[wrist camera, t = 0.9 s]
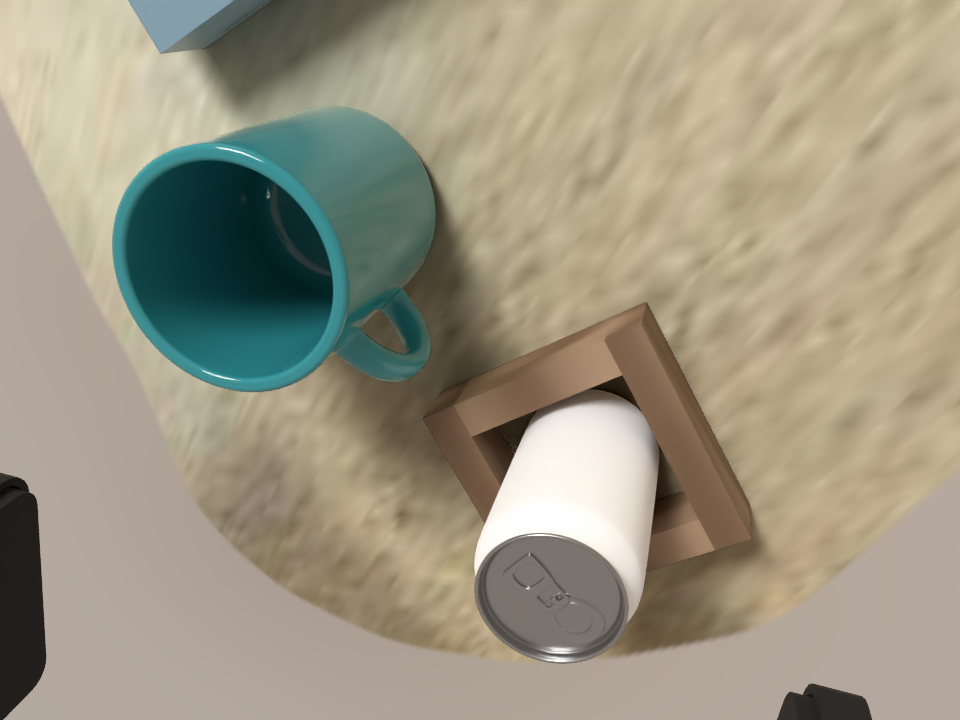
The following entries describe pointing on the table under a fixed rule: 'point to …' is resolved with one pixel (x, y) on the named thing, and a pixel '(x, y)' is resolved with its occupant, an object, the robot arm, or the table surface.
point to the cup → (279, 250)
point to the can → (570, 530)
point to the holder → (575, 368)
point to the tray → (191, 20)
